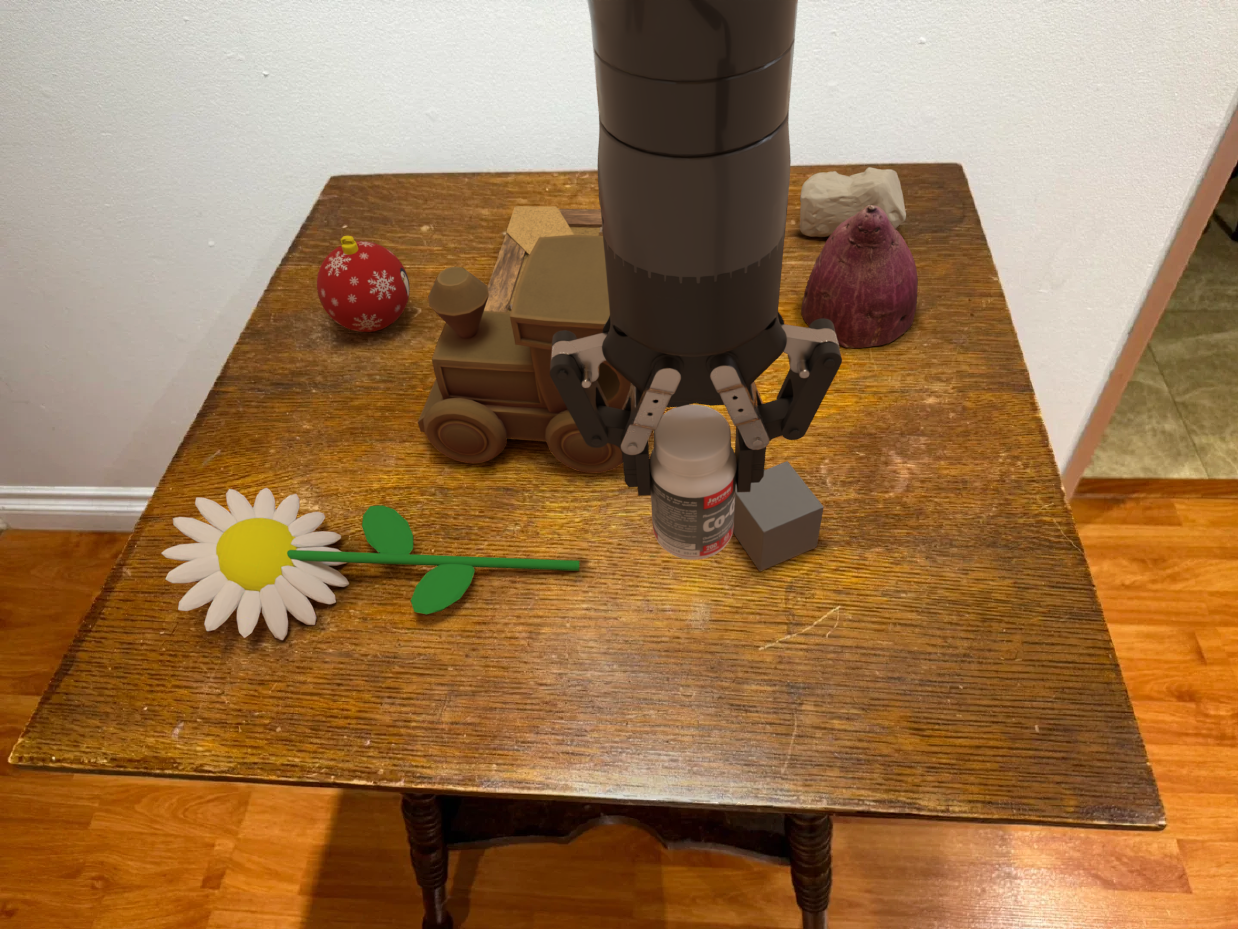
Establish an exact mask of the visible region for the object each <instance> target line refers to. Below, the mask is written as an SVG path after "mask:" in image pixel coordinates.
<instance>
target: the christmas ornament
mask: <svg viewBox="0 0 1238 929" xmlns="http://www.w3.org/2000/svg"><path fill="white" fill-rule="evenodd" d="M340 243H341V245H339V246H337V247H336V248H334V249H333V250H331V252H329V253H328V255H327V256H325V258H324V259H323V261H322V262H321V265H320V267H319V270H318V273H317V278H316V292H317V296H318V299H319V303H320V304H321V306H322V308H323V310H324V311H325V312H326V314H327V315H328V316H329V317H330V318H331V319H332V320H333V321H334V322H336V323H337V324H338V325H340V326H342V327H344V328H345V329H348V330H351V331H354V332H360V333H371V332H377V331H381V330H383V329H385V328H388V327H389V326H391V325H392V324H394V323H395V322H396V321H397V320H398V319H399V318H400V317H401V316H402V314H403V313H404V311H405V309H406V307H407V305H408V302H409V297H410V281H409V277H408V276H409V275H408V272H407V271H406V268H405V266H404V265H403V263H402V262H401V260H400V259H399V258H398V257H397V256H396V255H395V254H394V253H393V252H392V251H390V250H389V249H388V248H386V247H385V246H382V245H380V244H378V243H375V242H372V241H366V240H365V241H364V240H357V241H355V238H354V236H352V235H343V236H342V237H341V238H340Z"/></svg>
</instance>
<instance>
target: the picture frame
mask: <svg viewBox="0 0 1238 929" xmlns="http://www.w3.org/2000/svg"><path fill="white" fill-rule="evenodd" d="M564 235H591V236H603V231H602V219H601V209H600V208H597V209H596V208H591V209H590V208H558V206H545V205H544V206H543V205H540V206H538V205H515V206H514V208H513V211H512V214H511V217H510V219H509V223H508V226H507V229H506V233H505V236H504V238H503V241H502V245H501V246H500V247H501V248H500V249H499V252H498V256H497V259H496V261H495V263H494V264H495V265H494V267H493V270H492V273H491V275H490V278H489V281H488V285H487V287H488V292H489V297H488V300H487V303H486V306H485V309H484V311H494V312H511V310H512V305H513V301H514V296H515V292H516V288H517V286H518V283H519V280H520V278H521V275H522V272H523V270H524V267H525V264H526V262H527V259H528V257H529V255H530V253H531V251H532V249H533V248H534V246H535V244H536V242H537V240H538V239H539V237H551V236H564Z"/></svg>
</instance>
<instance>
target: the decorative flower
mask: <svg viewBox="0 0 1238 929" xmlns="http://www.w3.org/2000/svg"><path fill="white" fill-rule="evenodd" d="M225 498H226V505H227V507H228V510H229V511H228V510H227V509H226V508H225V507H223V506H222V505H221V504H219V503H218V502H216V501H215V500H212V499H209V498H206V497H198V496H197V497H195V502H194V506H195V507H196V508H197V510H198V512H199V514H200V515H201V516H202V517H203V518H204V519H205V520H206V521H207V522H208V523H206V522H204V521H202V520H199V519H196V518H194V517H187V516H186V517H185V516H178V517H174V518H173V517H172V523H173V526H174V527H175V528H176V529H177V530H178V531H180V532H181V533H182V534H183V535H184V536H186V537H188V538H190V539H192V540H193V541H195V542H194V543H181V544H176V545H174V546H171V547H168V548H166V549H164V550H163V551H162V552H161V553H160V554H161V555H162V556H164V557H165V558H166V559H170V560H175V561H180V562H184V563H181V564H180V565H178V566H176V567H175V568H173V569H172V570H170V571H168V572H167V575H166V577H165V580H166V581H168V582H169V583H171V584H189V583H195V582H197V583H196V584H195V585H193V586H192V587H191V588H190V589H189V590H188V591H187V592H186V593H185V594H184V595H183V596H182V598H181V599H180V600H179V602H178V611H183V612H188V611H192V610H196V609H199V608H202V607H203V606H205V605H206V604H208V603H210V602H211V604H210V606H209V607H208V609H207V612H206V615H205V619H204V623H203V624H204V628H205V630H206V632H211V631H215V630H217V629H218V628H220V627H221V626H222V625H223V624H224V623H225V622H226V621H227V620H228V619H229V618H230V616H231V615H232V614H233V613H234V611H236V624H237V630H238V633H239V634H240V635H241V636H242V637H243V638H244V639H245V638H247V637H248V636H249V635H250V634H252V633H253V631H254V629H255V628H256V627H257V624H258V621H259V618H260V613H262V616H263V618H264V621H265V623H266V626H267V627H268V630H269V631H270V632H271V634H272V635H273V636H274V638H275V639H278V640H280V641H284V639H285V638H286V636H288V629H289V628H288V627H289V620H288V612H289V614H291V615H292V616H293V617H294V618H295V619H296V620H298V621H299V622H301V623H303V624H304V625H307V626H315V625H316V621H317V615H316V612H315V610H314V607H313V605H312V603H311V602H310V600H309V599H308V598H310V599H311V600H314V601H315V602H318V603H321V604H325V605H332V604H335V603H337V601H336V594H334V592H333V590H331V589H330V587H329V586H332V587H339V588H340V587H341V588H345V587H347V586H349V585H350V582H349V581H348V579H347V578H346V577H345V576H344V575H343V574H342V573H341V572H340V571H339V570H337V569H336V568H333V567H336V566H341V565H344V564H349V563H350V564H351V563H352V564H375V565H376V564H377V565H401V566H402V565H403V566H404V565H405V566H429V567H430V566H433V568H432V569H430V570H429V571H427V572H426V573H425V574H424V576H422V578H421V579H420V581H419V582H418V583H417V584H416V585H415V588H414V591H413V593H412V596H411V599H410V603H411V607H412V609H413V612H414V613H417V614H423V615H430V614H434V613H440V612H443V611H444V610H445V609H448V607H450V606H452V605H453V604H454V603H456V602H457V601H459V600H460V599H461V598H462V597H463V596H464V594H465V593H466V591H467V590H468V589H469V588H470V586H471V583H472V581H473V578H474V575H475V573H476V569H475V568H482V569H483V568H485V569H486V568H488V569H509V570H510V569H511V570H512V569H513V570H514V569H515V570H538V571H539V570H544V571H564V572H565V571H569V572H580V560H577V559H575V560H572V559H550V558H549V559H548V558H547V559H546V558H545V559H544V558H521V557H520V558H518V557H493V556H467V555H466V556H465V555H441V554H439V555H438V554H416V553H415V554H414V553H413V554H412V553H411V552H412V551H413V550H414V534H413V531H412V528H411V527H410V523H409V522H408V520H407V519H406V518H405V517H403V516H402V515H401V514H400V513H399V512H398V511H397V510H395V509H394V508H392V507H389V506H386V505H383V504H382V505H370V506H369V507H368V508H367V509H366V511H365V512H364V513H363V514H362V522H361V527H362V531H363V534H364V537H365V539H366V542H367V543H368V544H369V545H370V546H371V548H373V549H374V550H375V551H376V552H358V551H357V552H356V551H341V550H339V549H338V548H334V547H328V546H330V545H333V544H336V543H337V542H338V541H340V540H341V539H342V535H341V534H339V533H338V532H335V531H326V530H323V531H322V530H319V531H316V529H318V528H319V527H320V526H321V525H322V524H323V523H324V520H325V518H326V515H325V513H324V512H320V511H313V512H308V513H305V514H303V515H301V516H299V517H297V515H298V513H299V510H300V507H301V506H300V498H299V496H298V494H297V493H294V494H290V495H289V494H288V496H287V497H285V498H283V499H282V500H281V502H280V504H279V505H278V506H277V507H276V499H275V496H274V494H273V492H272V491H271V490H270V488H268V487H264V488H263V489H261V490H259V491H258V493H257V495H256V497H255V500H254V503H253V506H252V504H251V503H250V502H249V500H248V499H247V498H246V496H245V495H243V494H242V493H240V492H239V491H238V490H236V489H234V488H233V489H232V488H228V490H227V491H226V493H225ZM328 585H329V586H328Z"/></svg>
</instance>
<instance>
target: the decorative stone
mask: <svg viewBox="0 0 1238 929" xmlns="http://www.w3.org/2000/svg"><path fill="white" fill-rule="evenodd" d="M799 201H800V210H799V212H800V213H799V231H800V233H801V234H802V235H804V236H807V237H812V238H813V237H818V238H826V237H830V235H831V234H832V233H833V232H834V230H835V229H836V228H837V227H838V226H839V225H840V224H841V223H842V222H844V221H846V220H847V219H848V218H850V217H852V216H854V215H855V214H857V213H858V212H859V211H861V210H862V209H864V208H865V207H867V206H868V205H872V206H878V207H880V208H881V209H882V210H883V211H884V212H885V213H886V215H887V217H888V219H889V221H890V223H891V224H892V226H893V227H894V228H895V229H896V230H897V228H899V226H900V225H901V224H902V223H904V222H906V219H907V212H906V206H905V200H904V194H903V190H902V186H901V181H900V178H899V176H898V173H897V171H896V170H894V169H890V168H888V169H887V168H886V169H880V168H876V167H871V166H869V167H867V168H866V169H865V170H864V171H862V172H859V173H854V174H851V175H849V176H848V175H844V174H841V173H839V172H838V171H836V170H834V171H828V172H817V173H814V174H812V175H811V176H810V177H809V178H808V179H806V180H805V181H804V183H803V184H802V186H801V190H800V196H799Z"/></svg>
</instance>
